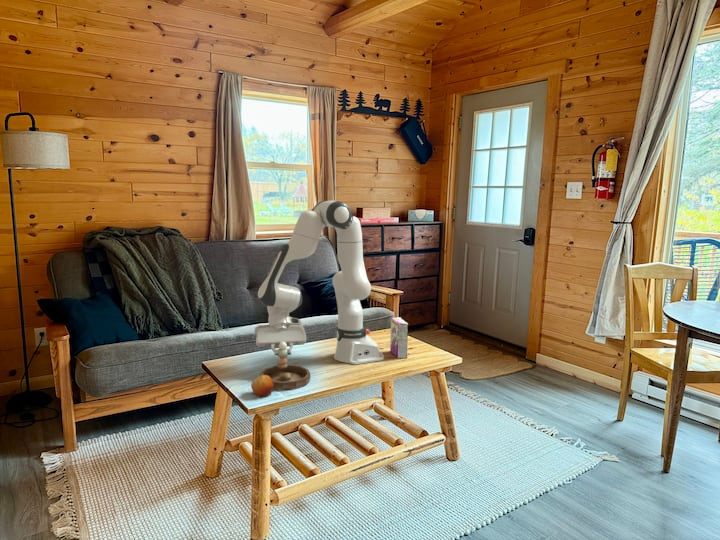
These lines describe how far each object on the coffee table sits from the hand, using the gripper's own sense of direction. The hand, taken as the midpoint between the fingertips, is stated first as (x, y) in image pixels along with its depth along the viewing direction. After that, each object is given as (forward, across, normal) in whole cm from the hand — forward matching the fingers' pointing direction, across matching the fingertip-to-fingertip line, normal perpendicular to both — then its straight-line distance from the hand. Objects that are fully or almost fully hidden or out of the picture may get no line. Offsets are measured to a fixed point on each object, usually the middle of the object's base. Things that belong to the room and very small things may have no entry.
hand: (282, 354), depth 199 cm
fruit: (+18, -10, -4) cm, 21 cm away
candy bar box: (-4, +55, +16) cm, 58 cm away
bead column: (+3, 0, +4) cm, 5 cm away
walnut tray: (+10, 0, +3) cm, 10 cm away
